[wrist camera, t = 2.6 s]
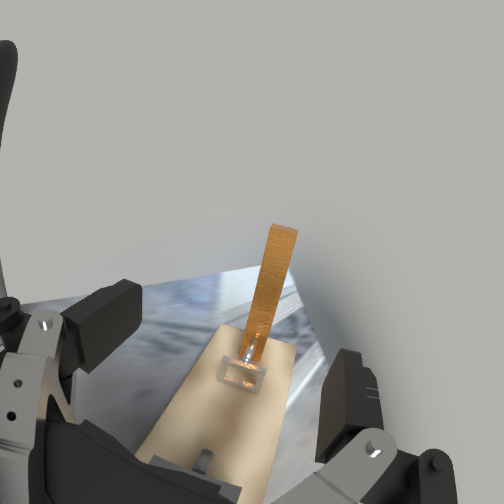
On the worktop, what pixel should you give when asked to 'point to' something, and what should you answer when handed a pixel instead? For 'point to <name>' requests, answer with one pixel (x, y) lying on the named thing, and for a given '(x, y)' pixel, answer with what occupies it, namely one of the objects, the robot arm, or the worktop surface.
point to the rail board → (227, 416)
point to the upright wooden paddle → (262, 307)
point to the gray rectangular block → (201, 472)
